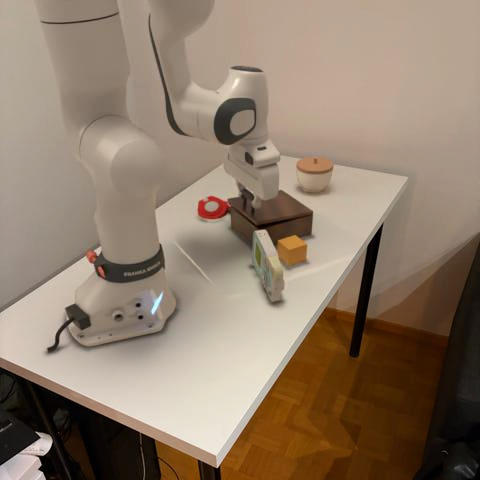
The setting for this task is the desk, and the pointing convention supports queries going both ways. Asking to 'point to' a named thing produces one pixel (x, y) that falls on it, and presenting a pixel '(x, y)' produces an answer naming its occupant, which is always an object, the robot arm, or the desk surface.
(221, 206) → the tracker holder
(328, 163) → the trinket box
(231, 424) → the desk surface
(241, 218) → the chest
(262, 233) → the handheld gaming console
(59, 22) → the robot arm
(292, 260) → the block
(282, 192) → the lid
